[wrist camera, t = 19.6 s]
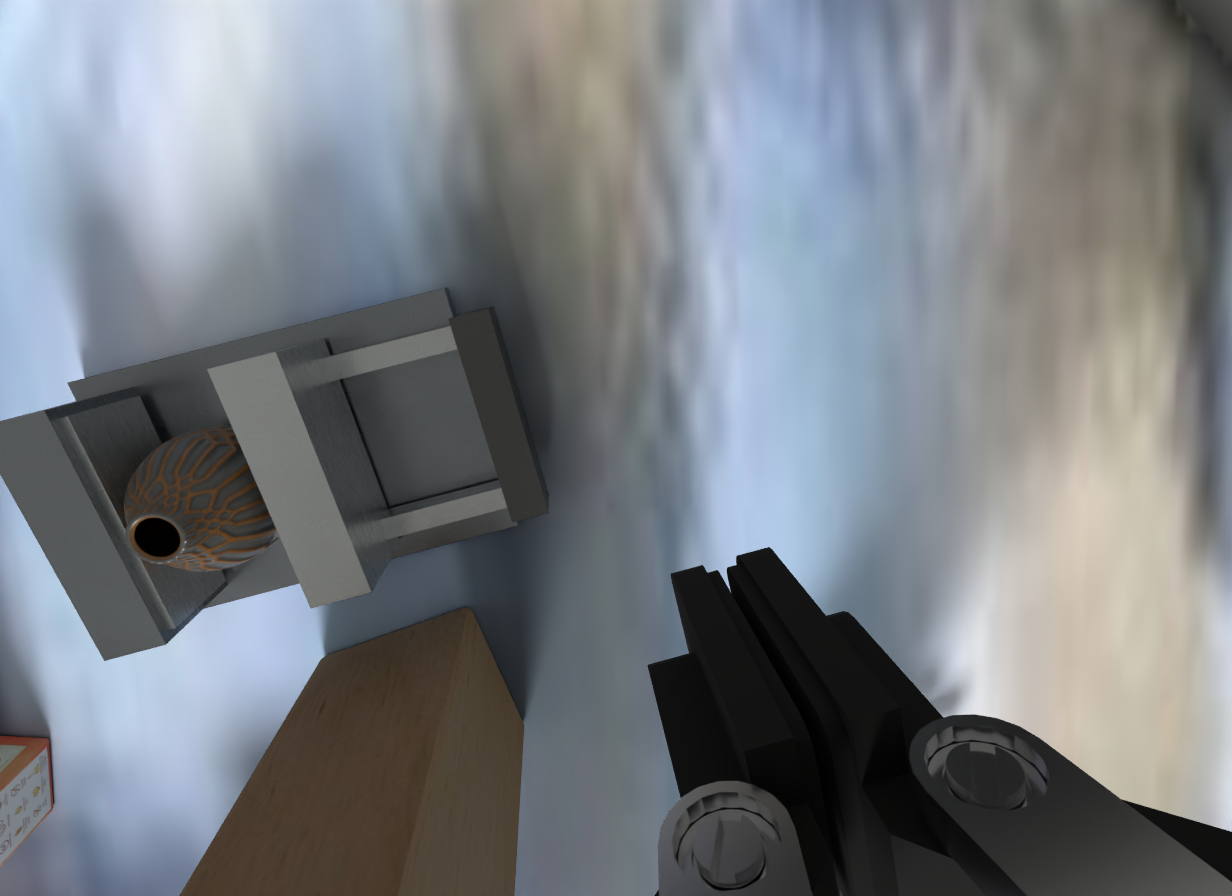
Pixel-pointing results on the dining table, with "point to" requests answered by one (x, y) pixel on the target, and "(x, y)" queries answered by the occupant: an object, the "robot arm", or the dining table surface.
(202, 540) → the vase
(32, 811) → the cracker box
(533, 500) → the sliding jaw
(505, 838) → the wooden block
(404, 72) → the dining table surface
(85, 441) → the vise
